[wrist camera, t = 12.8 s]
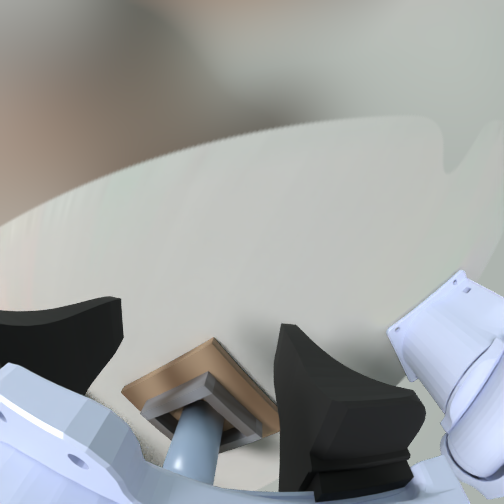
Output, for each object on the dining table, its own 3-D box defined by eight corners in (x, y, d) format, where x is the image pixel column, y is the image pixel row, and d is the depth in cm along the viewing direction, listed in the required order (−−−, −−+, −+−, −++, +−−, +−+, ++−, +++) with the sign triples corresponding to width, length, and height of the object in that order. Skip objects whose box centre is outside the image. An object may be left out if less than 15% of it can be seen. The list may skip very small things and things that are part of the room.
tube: (205, 394, 22) (186, 463, 14) (233, 420, 22) (223, 487, 15) (174, 408, 23) (150, 470, 15) (201, 431, 23) (186, 493, 15)
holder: (213, 337, 22) (207, 357, 19) (290, 419, 24) (292, 440, 21) (124, 386, 23) (112, 404, 20) (199, 452, 25) (195, 471, 22)
